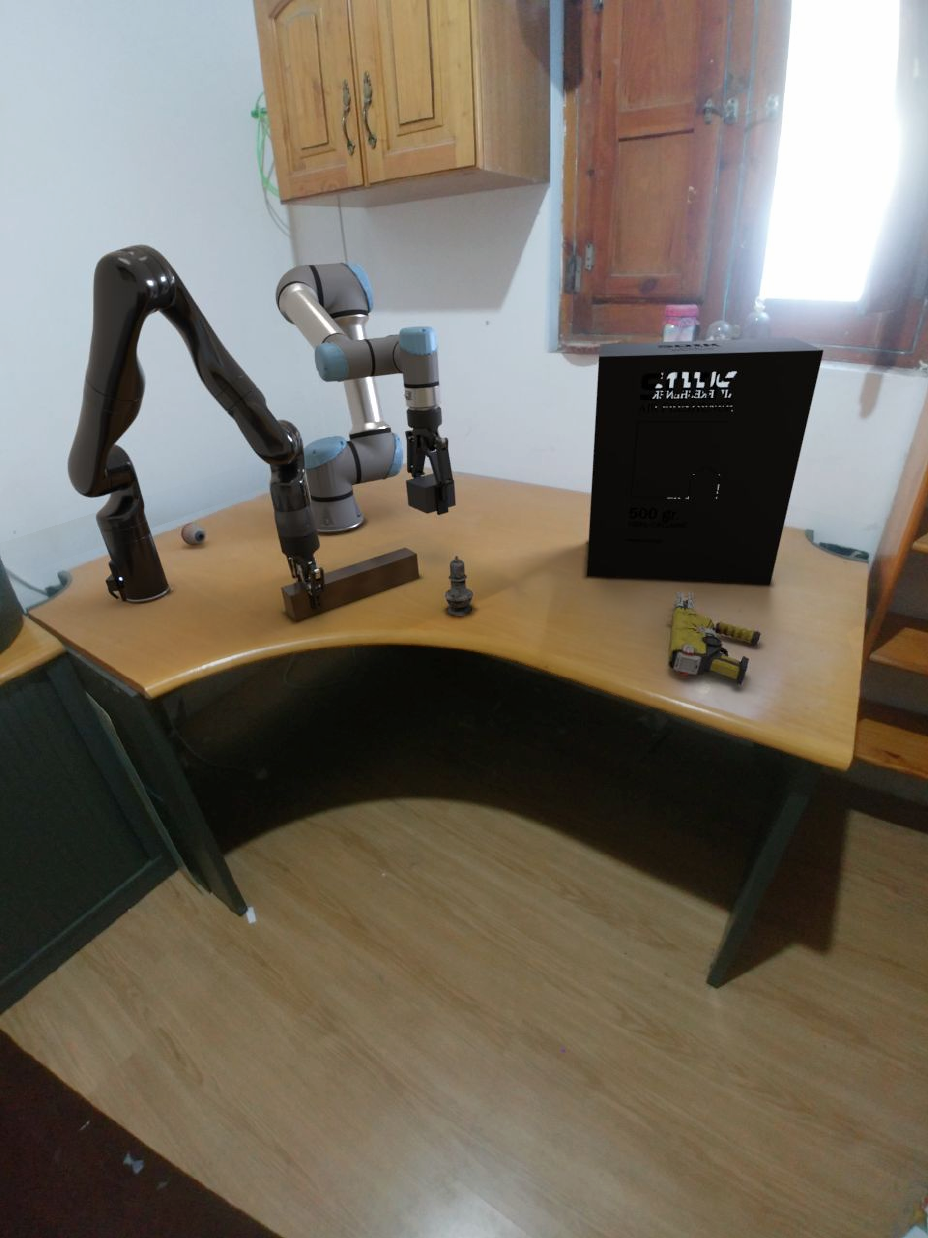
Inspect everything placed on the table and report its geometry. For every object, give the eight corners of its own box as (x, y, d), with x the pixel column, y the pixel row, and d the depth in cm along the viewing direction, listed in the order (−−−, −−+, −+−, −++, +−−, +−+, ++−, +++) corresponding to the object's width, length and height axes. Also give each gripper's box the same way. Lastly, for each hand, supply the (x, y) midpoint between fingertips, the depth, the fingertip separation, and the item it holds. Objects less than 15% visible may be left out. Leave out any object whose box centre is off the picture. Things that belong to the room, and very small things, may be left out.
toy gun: (759, 604, 113) (676, 588, 117) (772, 670, 93) (671, 649, 97) (752, 625, 115) (671, 610, 119) (763, 695, 95) (665, 673, 99)
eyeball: (194, 551, 158) (188, 529, 155) (180, 546, 161) (173, 525, 158) (213, 542, 162) (208, 521, 159) (199, 539, 165) (192, 518, 162)
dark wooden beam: (295, 622, 123) (290, 595, 120) (286, 612, 126) (280, 587, 123) (419, 577, 137) (417, 553, 134) (407, 570, 141) (405, 547, 138)
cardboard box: (751, 546, 143) (793, 337, 120) (770, 584, 126) (823, 350, 103) (589, 540, 150) (600, 343, 128) (586, 576, 133) (598, 356, 111)
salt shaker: (471, 617, 120) (468, 562, 114) (442, 615, 121) (438, 561, 115) (476, 603, 125) (474, 550, 119) (449, 601, 126) (445, 549, 120)
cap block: (427, 513, 135) (424, 487, 132) (408, 505, 141) (405, 480, 138) (455, 505, 139) (454, 479, 136) (436, 497, 145) (434, 472, 142)
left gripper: (265, 523, 121) (282, 597, 130) (293, 543, 111) (309, 623, 119) (300, 513, 125) (314, 587, 133) (330, 532, 114) (343, 610, 123)
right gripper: (384, 404, 134) (395, 502, 146) (436, 416, 120) (444, 524, 131) (412, 398, 138) (421, 494, 149) (466, 410, 123) (471, 515, 135)
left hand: (312, 603), depth 126 cm, fingers closed on dark wooden beam, 5 cm apart
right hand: (432, 508), depth 140 cm, fingers closed on cap block, 8 cm apart
